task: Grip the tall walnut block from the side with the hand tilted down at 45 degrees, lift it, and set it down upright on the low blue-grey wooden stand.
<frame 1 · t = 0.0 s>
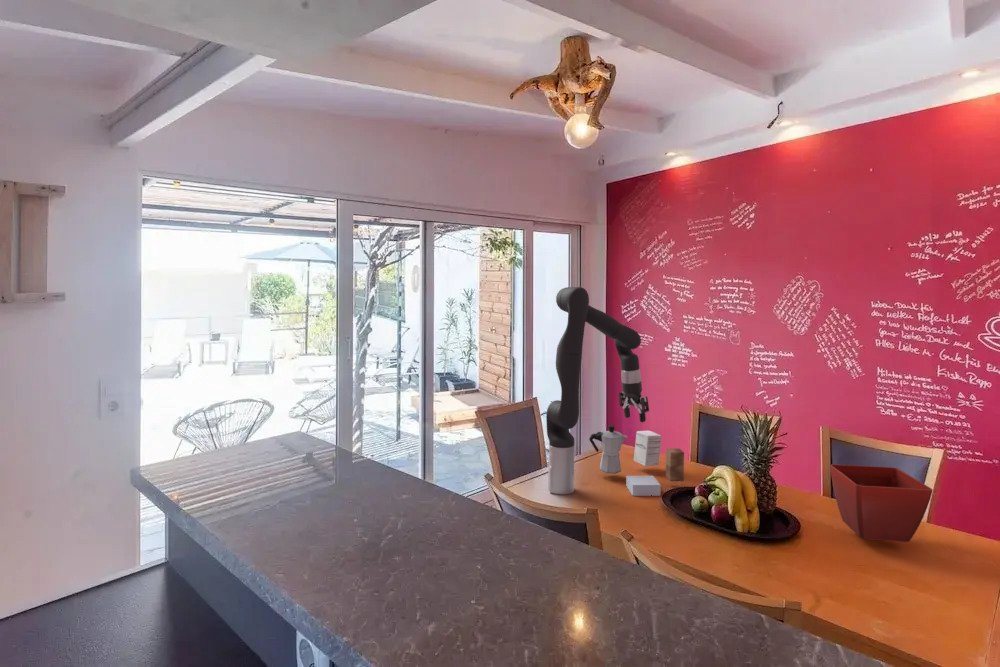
hand: (635, 419, 219), 22 cm above the table, tool pointing down, fingers open, 8 cm apart
coffee maker: (607, 469, 217), point 3 cm above the table
stand: (642, 490, 202), on the table
supplement box: (645, 463, 224), point 3 cm above the table
walnut block: (674, 479, 206), point 3 cm above the table
plant pot: (875, 532, 161), point 3 cm above the table
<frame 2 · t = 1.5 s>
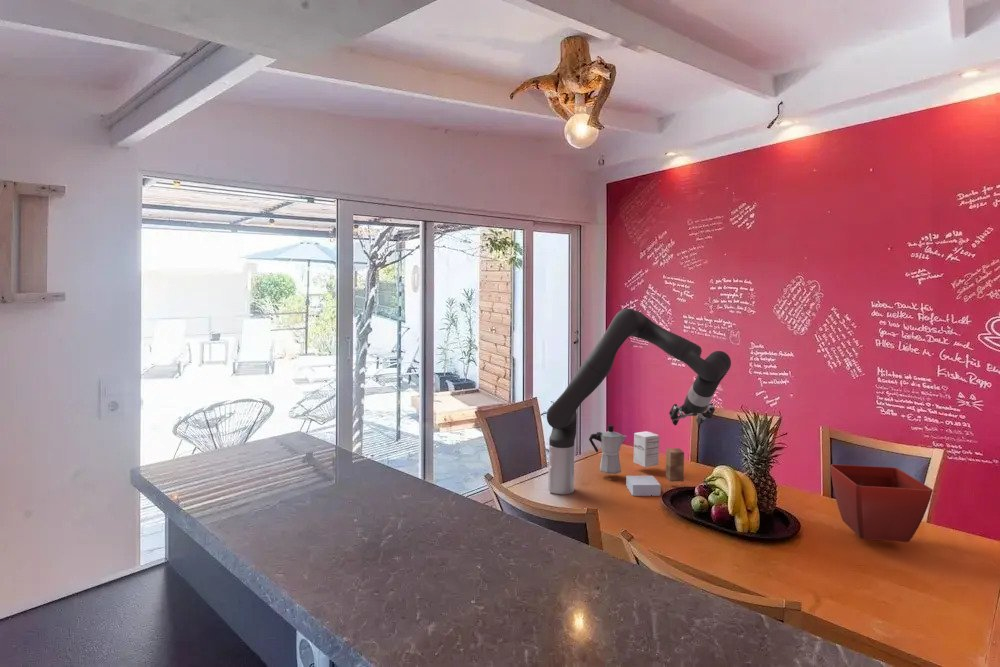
hand: (686, 422, 193), 27 cm above the table, tool tilted 45°, fingers open, 8 cm apart
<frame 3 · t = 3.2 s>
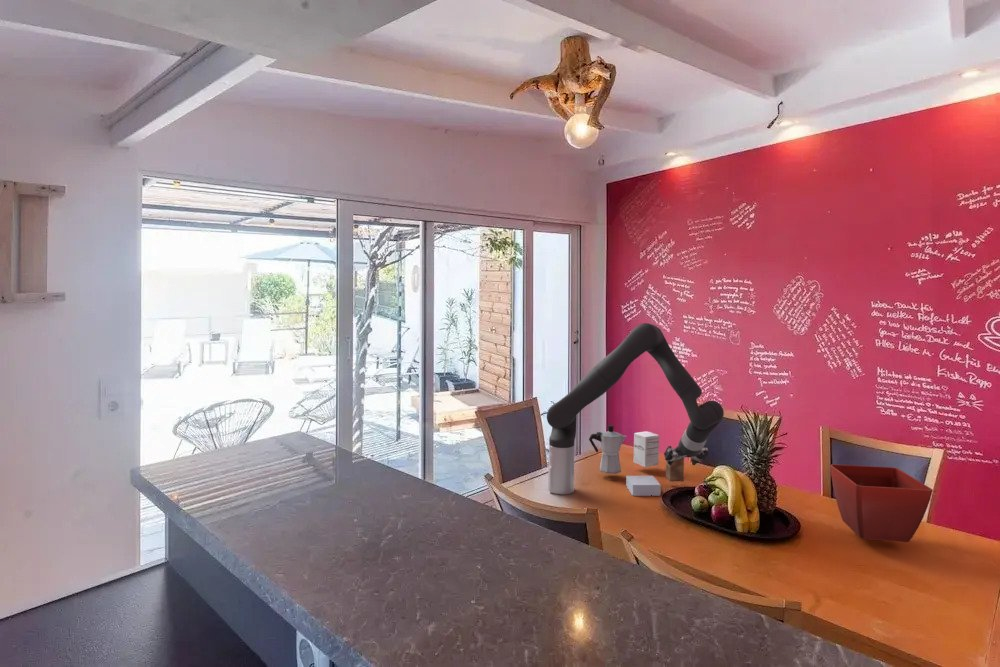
hand: (681, 463, 199), 11 cm above the table, tool tilted 45°, fingers open, 8 cm apart
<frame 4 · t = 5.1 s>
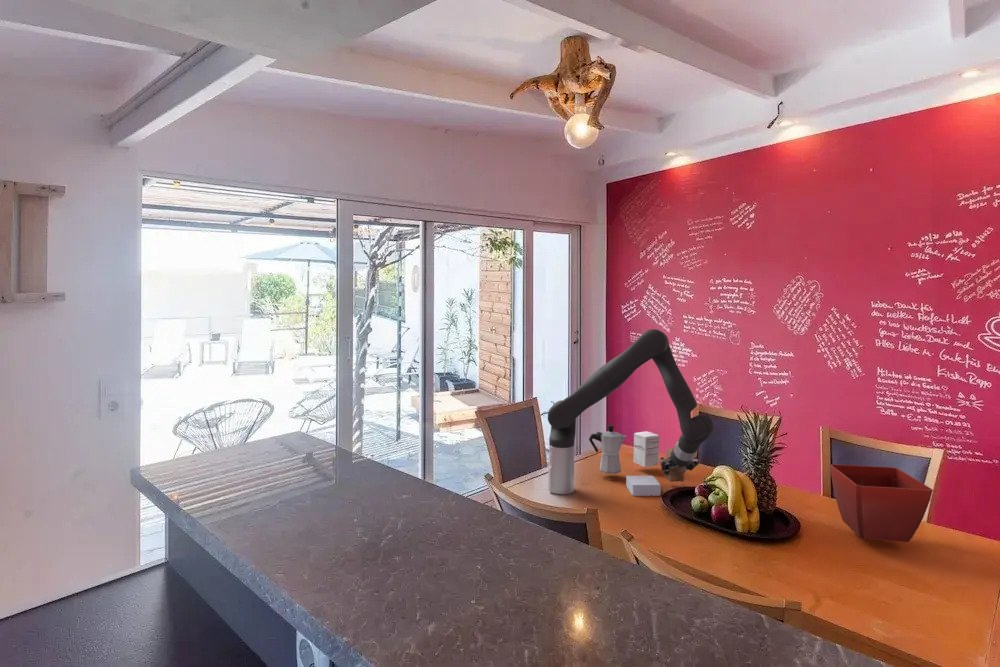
hand: (673, 472, 208), 5 cm above the table, tool tilted 45°, fingers closed on walnut block, 5 cm apart
walnut block: (674, 479, 206), point 3 cm above the table, touching gripper
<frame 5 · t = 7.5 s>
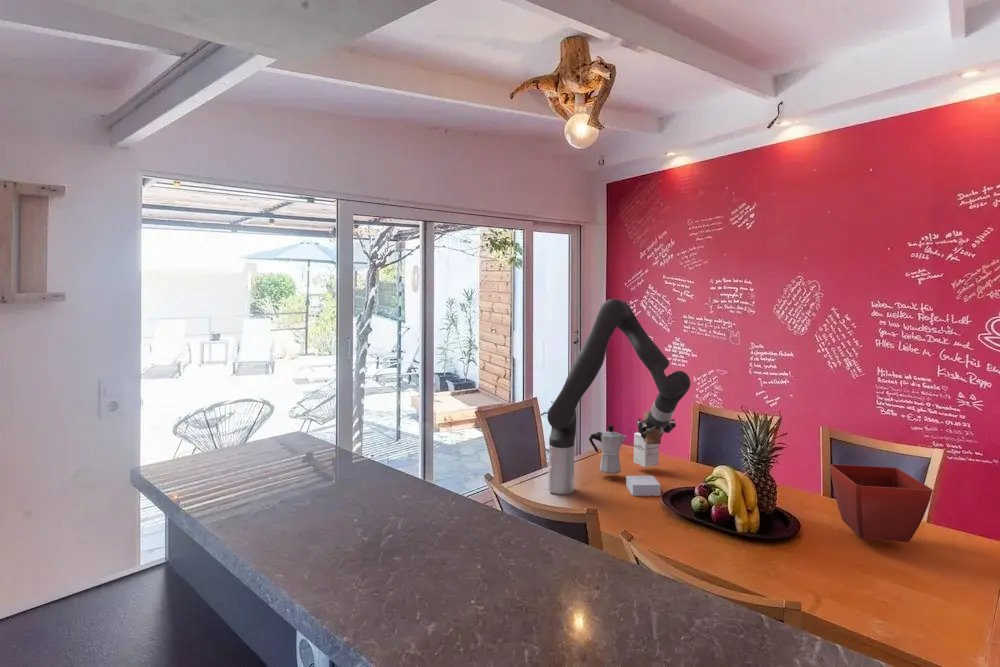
hand: (650, 436, 204), 20 cm above the table, tool tilted 45°, fingers closed on walnut block, 5 cm apart
walnut block: (651, 442, 202), point 18 cm above the table, touching gripper
when the fingers open (10 cm above the table, at t = 10.2 s): walnut block drops 4 cm, resting on stand.
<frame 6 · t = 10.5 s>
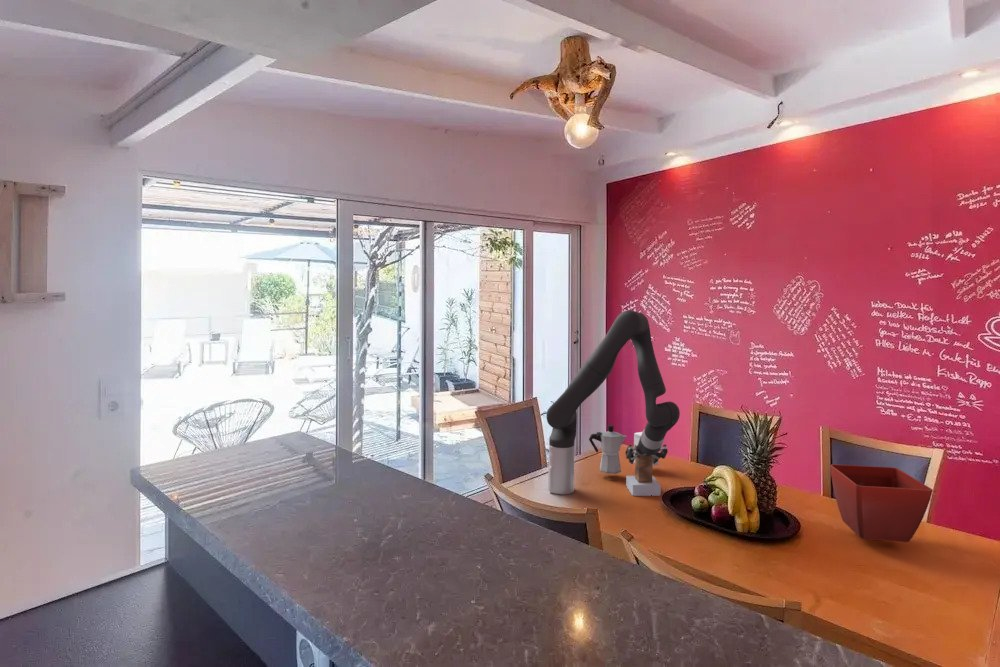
hand: (642, 461, 203), 11 cm above the table, tool tilted 45°, fingers open, 8 cm apart
walnut block: (643, 480, 202), point 4 cm above the table, touching stand
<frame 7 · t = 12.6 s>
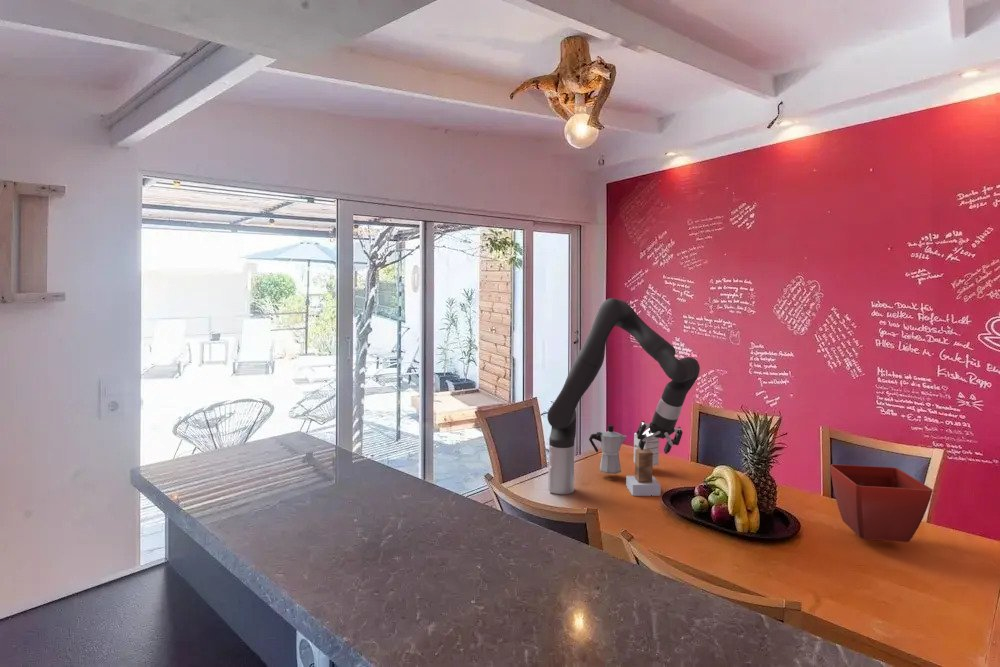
hand: (653, 450, 187), 19 cm above the table, tool tilted 25°, fingers open, 8 cm apart
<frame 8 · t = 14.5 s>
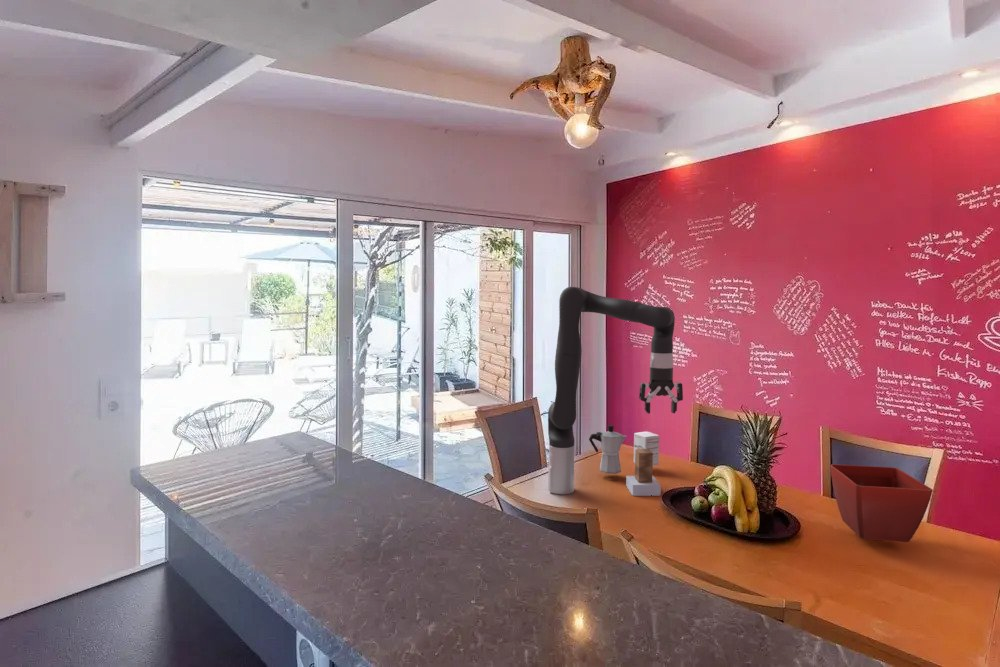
hand: (660, 412, 187), 32 cm above the table, tool pointing down, fingers open, 8 cm apart
at the end: walnut block inside the target area on the stand (0.1 cm from its centre), point 4.0 cm above the stand's base; walnut block tilted 0°; the gripper is holding nothing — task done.
